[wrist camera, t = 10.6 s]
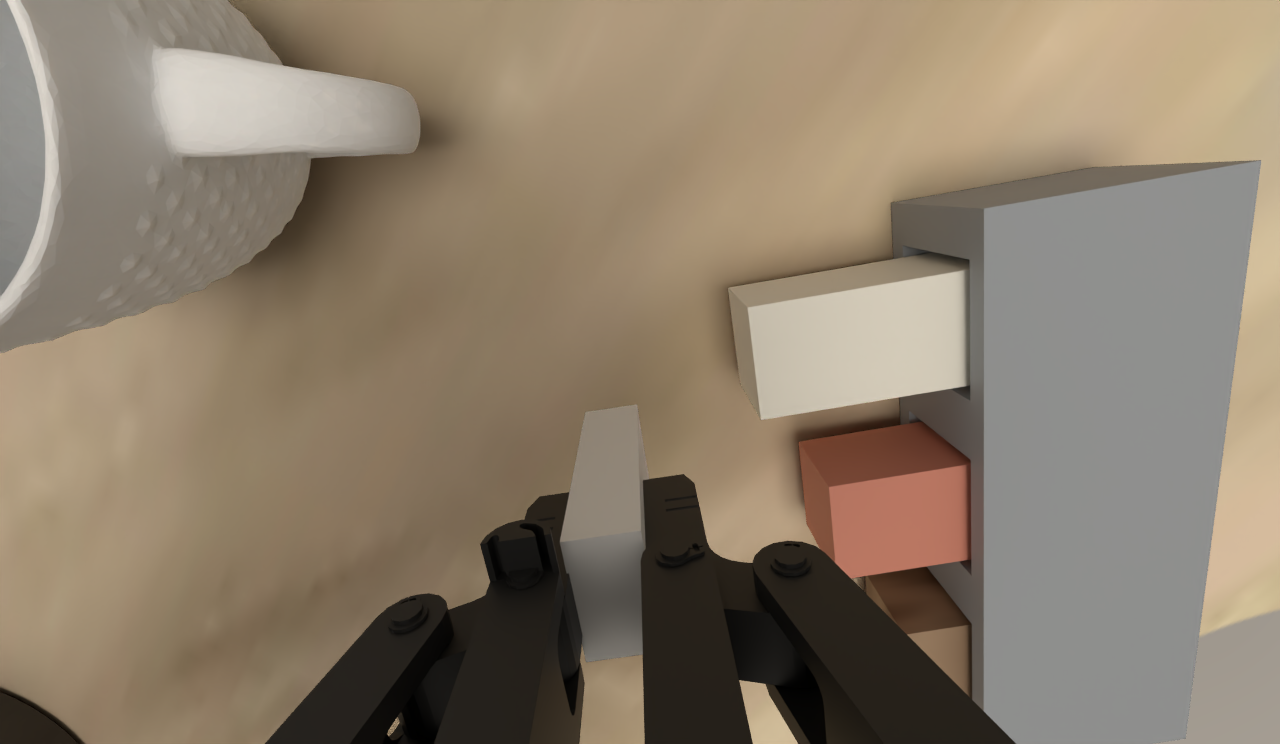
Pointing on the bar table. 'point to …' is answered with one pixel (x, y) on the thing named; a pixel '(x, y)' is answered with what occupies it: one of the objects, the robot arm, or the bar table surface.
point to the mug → (156, 153)
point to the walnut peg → (927, 619)
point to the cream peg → (853, 334)
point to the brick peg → (887, 499)
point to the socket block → (1089, 434)
